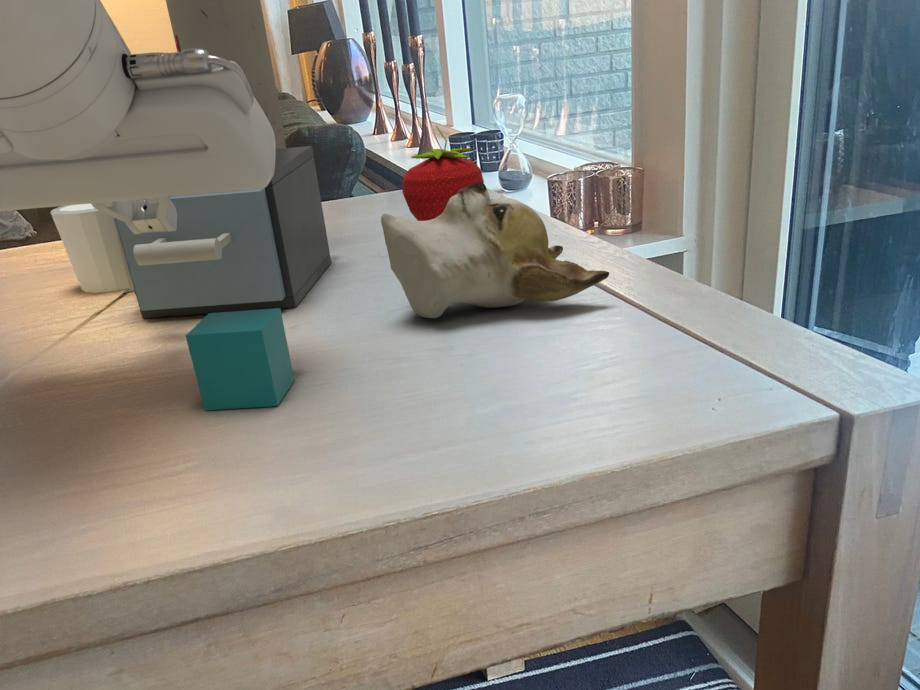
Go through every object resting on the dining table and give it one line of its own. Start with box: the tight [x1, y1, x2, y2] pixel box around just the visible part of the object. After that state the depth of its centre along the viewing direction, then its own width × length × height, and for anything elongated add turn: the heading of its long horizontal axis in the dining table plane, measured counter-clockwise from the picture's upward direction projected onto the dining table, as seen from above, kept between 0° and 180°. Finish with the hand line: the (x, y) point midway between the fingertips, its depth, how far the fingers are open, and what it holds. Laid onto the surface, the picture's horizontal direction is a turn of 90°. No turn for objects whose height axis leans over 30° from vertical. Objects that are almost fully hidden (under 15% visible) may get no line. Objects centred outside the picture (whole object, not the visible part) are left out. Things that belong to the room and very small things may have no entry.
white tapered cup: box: [50, 204, 135, 294], centre depth 84 cm, size 7×7×7 cm
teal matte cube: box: [185, 308, 295, 411], centre depth 57 cm, size 4×4×4 cm
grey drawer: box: [115, 188, 286, 311], centre depth 76 cm, size 18×11×8 cm, turn 176°
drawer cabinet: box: [114, 145, 332, 319], centre depth 79 cm, size 15×13×10 cm
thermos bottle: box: [165, 0, 287, 149], centre depth 86 cm, size 8×8×28 cm
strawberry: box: [401, 125, 485, 221], centre depth 84 cm, size 6×8×10 cm
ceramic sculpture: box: [380, 182, 610, 319], centre depth 68 cm, size 11×9×15 cm
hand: (156, 223), depth 65 cm, fingers closed
